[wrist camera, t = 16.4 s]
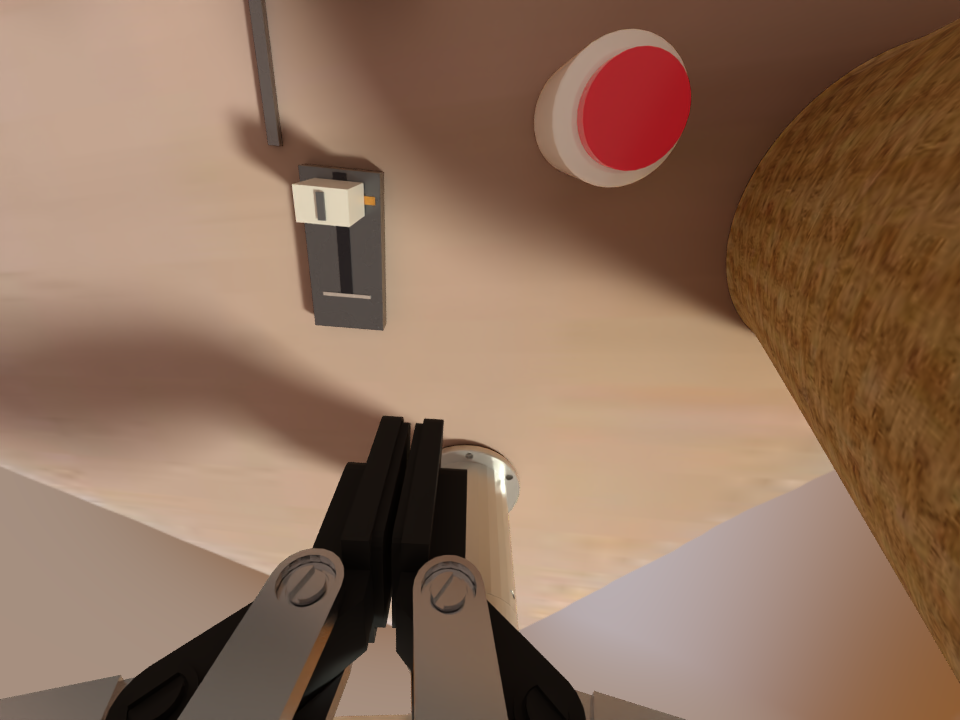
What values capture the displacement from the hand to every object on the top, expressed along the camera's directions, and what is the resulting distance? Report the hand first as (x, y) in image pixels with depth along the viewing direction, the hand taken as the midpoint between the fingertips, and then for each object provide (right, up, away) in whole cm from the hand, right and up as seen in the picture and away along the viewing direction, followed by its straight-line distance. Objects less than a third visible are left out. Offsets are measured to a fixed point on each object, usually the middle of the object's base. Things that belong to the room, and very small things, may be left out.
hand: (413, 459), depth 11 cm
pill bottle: (+10, +21, +19) cm, 30 cm away
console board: (-9, +12, +24) cm, 28 cm away
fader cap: (-9, +15, +20) cm, 26 cm away
